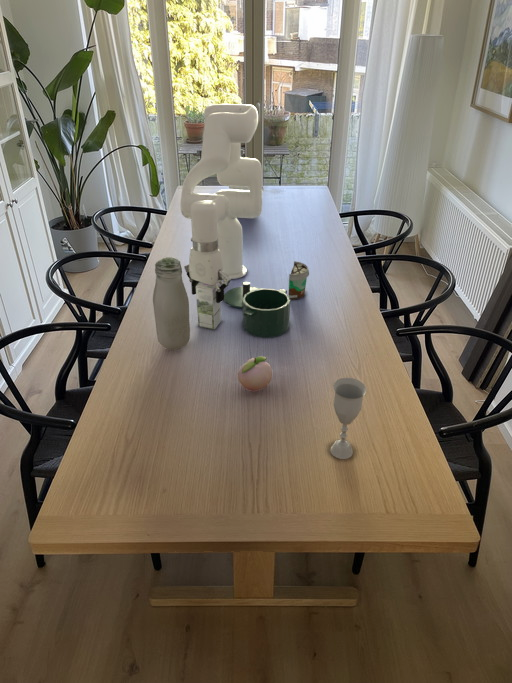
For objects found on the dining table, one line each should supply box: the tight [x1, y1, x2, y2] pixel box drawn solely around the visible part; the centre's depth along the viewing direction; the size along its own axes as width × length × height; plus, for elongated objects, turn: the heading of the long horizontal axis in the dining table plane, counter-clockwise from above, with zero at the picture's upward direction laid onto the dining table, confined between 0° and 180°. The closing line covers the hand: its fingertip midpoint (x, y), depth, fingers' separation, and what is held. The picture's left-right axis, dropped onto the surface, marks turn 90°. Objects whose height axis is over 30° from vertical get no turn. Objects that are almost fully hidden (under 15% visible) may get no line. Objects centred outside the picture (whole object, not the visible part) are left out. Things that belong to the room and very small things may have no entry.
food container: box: [288, 260, 310, 301], centre depth 181 cm, size 12×6×10 cm, turn 168°
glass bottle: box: [152, 256, 191, 351], centre depth 147 cm, size 10×10×28 cm
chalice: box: [330, 377, 367, 460], centre depth 112 cm, size 7×7×18 cm
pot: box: [242, 288, 291, 339], centre depth 162 cm, size 15×20×10 cm
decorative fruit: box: [237, 355, 273, 392], centre depth 134 cm, size 9×8×10 cm
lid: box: [223, 281, 261, 309], centre depth 178 cm, size 16×16×6 cm
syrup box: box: [195, 282, 222, 330], centre depth 161 cm, size 6×6×14 cm
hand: (207, 297), depth 159 cm, fingers open, 9 cm apart
